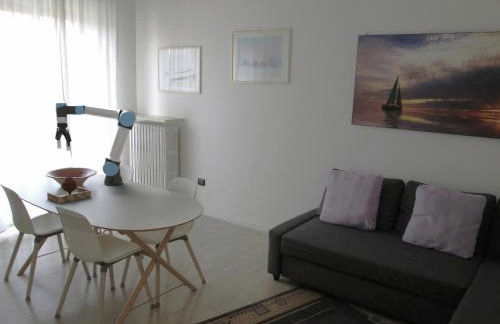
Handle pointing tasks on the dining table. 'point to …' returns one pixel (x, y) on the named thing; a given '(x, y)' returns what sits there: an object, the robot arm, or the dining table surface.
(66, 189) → the ice cream bowl
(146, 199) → the dining table surface
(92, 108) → the robot arm
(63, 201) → the bay
